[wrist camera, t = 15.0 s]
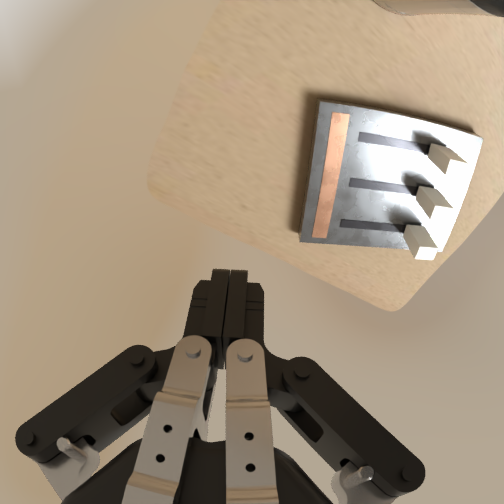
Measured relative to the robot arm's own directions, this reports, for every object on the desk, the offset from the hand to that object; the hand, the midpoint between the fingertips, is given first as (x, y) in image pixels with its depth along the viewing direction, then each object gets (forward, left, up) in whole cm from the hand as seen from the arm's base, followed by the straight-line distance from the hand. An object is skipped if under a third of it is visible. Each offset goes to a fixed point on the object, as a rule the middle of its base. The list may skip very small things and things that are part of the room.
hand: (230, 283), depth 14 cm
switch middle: (+6, +23, -24) cm, 34 cm away
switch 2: (0, +23, -24) cm, 34 cm away
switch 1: (+12, +23, -24) cm, 36 cm away
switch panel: (+6, +19, -27) cm, 33 cm away
